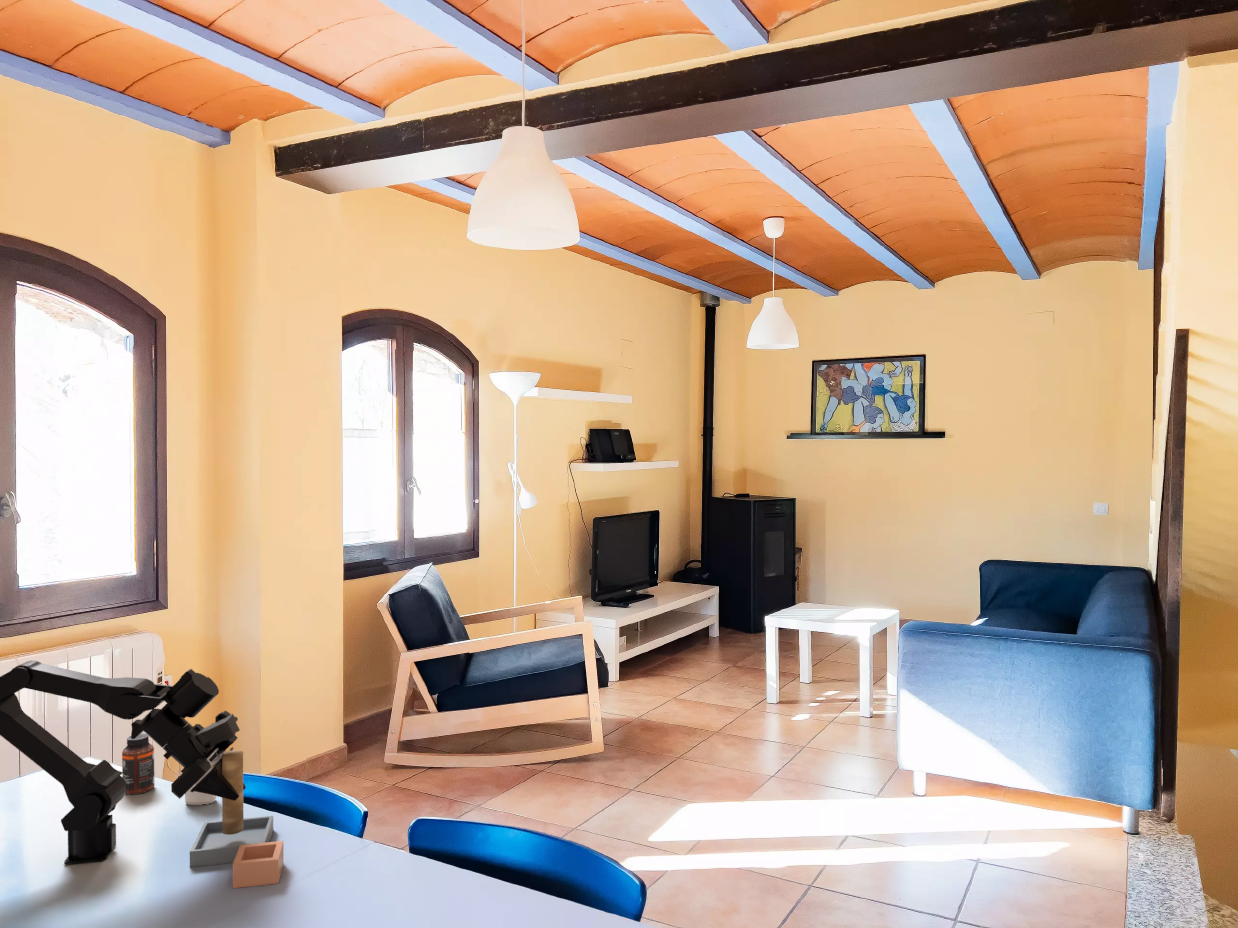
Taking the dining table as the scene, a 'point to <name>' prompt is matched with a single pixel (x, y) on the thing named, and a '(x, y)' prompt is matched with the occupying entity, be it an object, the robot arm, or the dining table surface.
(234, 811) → the oak dowel
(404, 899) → the dining table surface
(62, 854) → the dining table surface
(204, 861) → the tray
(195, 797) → the eye dropper bottle
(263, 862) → the terracotta socket
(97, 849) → the robot arm
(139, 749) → the supplement bottle
